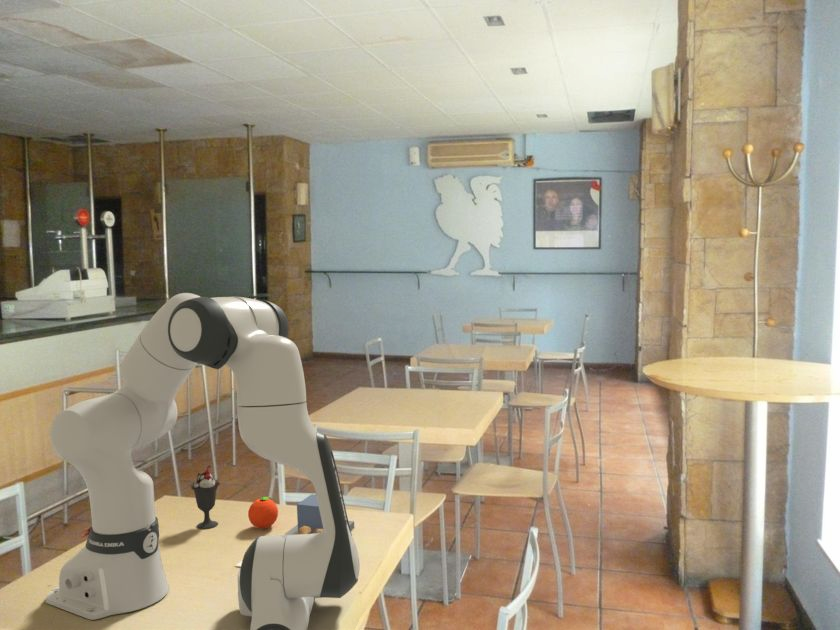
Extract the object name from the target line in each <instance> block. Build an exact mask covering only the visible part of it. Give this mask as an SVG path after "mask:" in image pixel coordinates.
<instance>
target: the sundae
mask: <svg viewBox="0 0 840 630" xmlns="http://www.w3.org/2000/svg"><path fill="white" fill-rule="evenodd" d="M209 468H211V464H209V465H208V466H207V468H206V470H204V472H202V473H198V474H197V477H196V481H195V482H193V483H191V484H190V489H191V490H193V492H194V495H195V496H194V497H195V501H196V502H195V503H196V505H197V508H198V509H199V510H200V511H201V512H202V513H203V514H204V516H203V517H204V518H203V521H202V522H199V523H198V524H196V528H197V529H199V530H209V529H212V528H215V527H218V525H219V522H218V521H215V520H212V519H211V518H210V512H211V510H213V508H214V507H215V506H216V505H215V504H216V499H217V489H218V487H219V486H220V485H221V484H220V482H219V481H217V480H215V479H214V477H213V475H212V474H211V473H210V470H208V469H209Z"/></svg>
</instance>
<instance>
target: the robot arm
mask: <svg viewBox="0 0 840 630" xmlns="http://www.w3.org/2000/svg"><path fill="white" fill-rule="evenodd" d="M289 326H290V325H289V320H288V318H287V315H286V313H285V311H284V310H283V309H282V308H281V307H280V306H278V305H277V304H275V303H274V302H271V301H268V300H266V299H262V298H255V299H254V298H249V297H243V296H233V295H231V296H217V297H207V296H200V295H199V294H194V293H191V292H181V293H178V294H175V295H173V296H172V297H170V298H169V299H168V300H167V301H166V302H165V303H164V304H163V305H162V306H161V307H160V308H159V309H158V310H157V311H156V312H155V313H154V315H153V316H152V317H151V318H150V320H149V321H148V322H147V323H146V325H145V326H144V327H143V329H142V330H141V332H140V333H139V335H138V337H136V339H135V340H134V342H133V344H132V345H131V347H130V348H129V350H128V351H127V353H126V355H125V356H124V357H123V359H122V361H121V363H120V369H119V371H120V375H121V378H122V380H123V385H122V387H120V388H119V389H118V390H116V391H114V392H112V393H109V394H106V395H103V396H99V397H98V396H97V397H94V398H90V399H86V400H82V401H79V402H77V403H75V404H73V405H70V406H69V407H67V408H66V409H64V410H62V411H60V412H58V413H57V415H55V416H54V418H53V420H52V422H51V425H50V431H49V437H50V438H49V440H50V443H51V447H52V448H53V451H54V452H55V454H57V456H58V457H59V458H60V459H62V460H63V461H65V462H66V463H69V464H70V465H72V466H73V467H74V468H75V469H77V470H78V471H79V473H80V475H81V476H82V478H83V480H84V482H85V485H86V487H87V491H88V498H89V506H90V516H91V524H92V525H91V526H90V527H88V528H87V529H84V530H82V531H81V532H80V534H82V535H81V536H80V538H81V539H83V538H84V537H87V539H86V542H85V546H83V547H82V548H81V549H80V550H79V551H77V553H75V554H74V555H73V556H71V558H70V559H68V560H67V561H66V562H65V563H64V564H63V566H62V567H61V568H60V573H59V579H58V580H59V581H58V585H57V586H56V587H54V588H53V589H52V590H50V591H49V593H48V594H47V595H46V596H45V603H46V604H48V605H51V606H53V607H56V608H59V609H62V610H63V611H67V612H68V613H71V614H74V615H77V616H80V617H83V618H85V619H88V620H90V621H91V620H92V621H93V620H99V619H102V618H106V617H109V616H113V615H118V614H119V615H120V614H125V613H130V612H131V613H132V612H134V611H137V610H141V609H144V608H147V607H149V606H152V605H153V604H156V603H157V602H159V601H161V600H162V599H163V598H164V597H166V595H167V594H168V593H169V591H170V586H169V583H168V580H167V575H166V571H165V570H164V566H163V561H162V556H161V550H160V545H159V539H160V529H159V528H160V525H159V519H158V517H157V515H156V505H155V489H154V481H153V479H152V477H151V476H150V475H149V474H148V473H146V472H145V471H142V470H140V469H138V468H136V466H135V464H134V462H133V459H132V450H133V449H135V448H139V447H141V446H144V445H147V444H150V443H152V442H155V441H156V440H158V439H159V438H161V437H163V436H164V435H166V434H167V433H169V432H170V431H171V430H172V429H173V428H174V427H175V425H176V423H177V420H178V413H179V412H178V406H177V402H176V401H175V400H176V399H175V398H176V396H177V394H178V392H179V391H180V389H181V388H182V386H183V384H184V383H186V381H187V379H188V378H189V376H190V375H191V373H192V372H193V371H194V369H195V368H196V366H197V365H198V364H201V365H204V366H206V367H209V368H211V369H214V370H219V369H221V368H223V367H224V366H225V367H228V368H229V369H230V371H232V373H233V374H234V377H235V380H236V382H235V383H236V405H237V406H236V409H237V423H238V430H239V434H240V438H241V439H242V441H243V443H244V444H245V446H246V447H247V448H248V449H249V450H250V451H251V452H253V453H255V454H256V455H258V456H259V457H261V458H263V459H265V460H268V461H271V462H274V463H277V464H278V465H279V464H280V465H283V466H285V467H289V468H291V469H294V470H296V471H298V472H299V473H302V474H303V475H304V476H305V477H306V478H307V479H308V480H309V481H310V482H311V483H312V486H313V488H314V492H315V495H316V497H317V501H318V506H319V511H320V515H321V520H322V524H323V529H324V530H323V531H322V532H321V533H315V534H297V535H288V534H287V535H284V534H274V535H263V536H262V535H261V536H260V535H259V536H257V538H255V539H254V540H253V541H252V543H250V545H249V546H248V548H247V549H246V551H245V552H244V555H243V558H242V560H243V561H242V560H241V561H242V564H241V567H239V570H238V573H237V599H238V608H239V609H238V610H239V612H240V615H241V616H246V617H251V622H250V627H249V629H250V630H308V626H309V624H310V615H311V612H312V611H313V606H314V601H315V599H320V598H321V599H322V598H323V599H324V598H330V599H331V598H332V599H341V598H342V597H344V596H345V595H346V594H348V593H349V592H350V591H351V590H352V589H353V588H354V586H355V585H356V584H357V583H358V580H359V576H360V569H361V568H360V567H361V565H360V564H361V563H360V557H359V552H358V548H357V545H356V543H355V541H354V538H353V534H352V530H350V526H349V522H348V521H349V519H348V514H347V509H346V505H345V500H344V496H343V495H344V494H343V490H342V486H341V483H340V477H339V473H338V472H339V471H338V468H337V464H336V460H335V457H334V453H333V449H332V446H331V444H330V442H329V438H328V437H327V435H326V434H324V433H323V432H321V431H318V429H316V427H315V426H314V423H313V422H312V420H311V418H310V415H309V412H308V406H307V405H308V403H307V389H306V388H307V387H306V381H305V374H304V367H303V364H302V358H301V354H300V351H299V348H298V346H297V344H296V343H295V342H294V341H293V340H291V339H290V338H288V337H289V331H290V330H289ZM83 533H84V534H83Z"/></svg>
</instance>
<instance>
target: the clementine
mask: <svg viewBox="0 0 840 630" xmlns="http://www.w3.org/2000/svg"><path fill="white" fill-rule="evenodd" d="M248 508H249V509H248V511H247V512H248V514H247V516H248V520H249V522H250V523H251V525H252V526H254V528H257V529H267V528H270V527H272V525H274V524H275V523H276V521H277V519H278V517H279V516H278V515H279V508H278V506H277V504H276V503H275V502H274V500H273V499H272V497H271V496H269V497H268V496H263V497H261V498H258V499H256V500H255V501H253V502H252V503H251V504H250V506H249V507H248Z"/></svg>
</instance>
